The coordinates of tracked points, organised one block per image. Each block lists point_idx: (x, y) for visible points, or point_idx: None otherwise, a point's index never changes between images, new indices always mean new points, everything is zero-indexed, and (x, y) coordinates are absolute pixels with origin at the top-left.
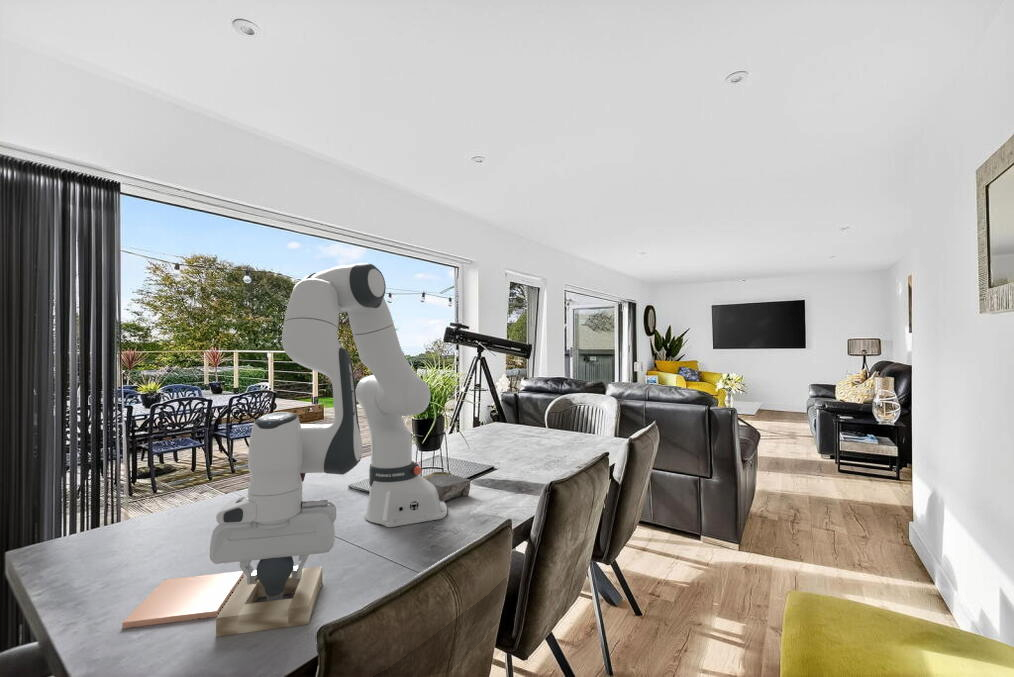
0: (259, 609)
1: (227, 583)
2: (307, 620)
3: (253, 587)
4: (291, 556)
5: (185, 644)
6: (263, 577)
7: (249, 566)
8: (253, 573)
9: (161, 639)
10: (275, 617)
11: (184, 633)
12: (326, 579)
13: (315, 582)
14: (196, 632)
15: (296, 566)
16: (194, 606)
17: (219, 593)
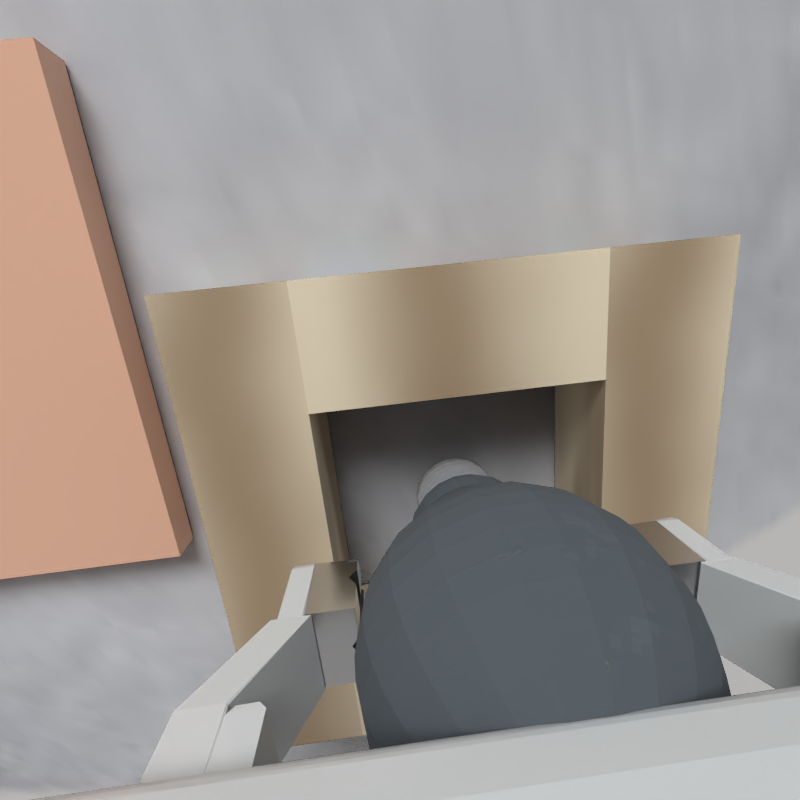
0: None
1: (34, 249)
2: None
3: (316, 493)
4: (728, 687)
5: (184, 697)
6: None
7: (273, 699)
8: (334, 664)
9: (52, 667)
10: None
11: (125, 638)
12: (678, 222)
13: (704, 470)
14: (176, 635)
15: (681, 573)
16: (16, 507)
17: (71, 383)
